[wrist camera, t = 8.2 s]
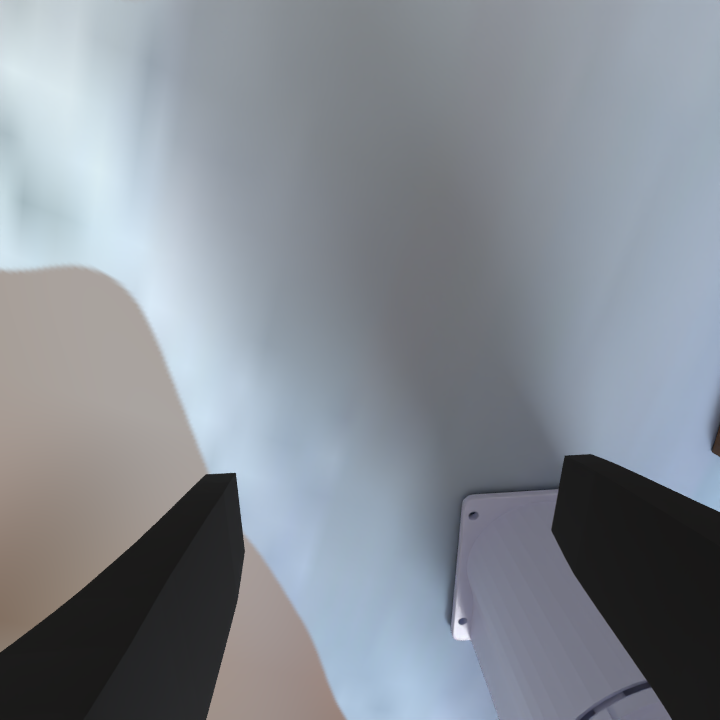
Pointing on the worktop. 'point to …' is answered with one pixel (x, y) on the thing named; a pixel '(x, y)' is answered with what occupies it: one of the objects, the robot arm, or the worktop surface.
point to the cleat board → (717, 444)
